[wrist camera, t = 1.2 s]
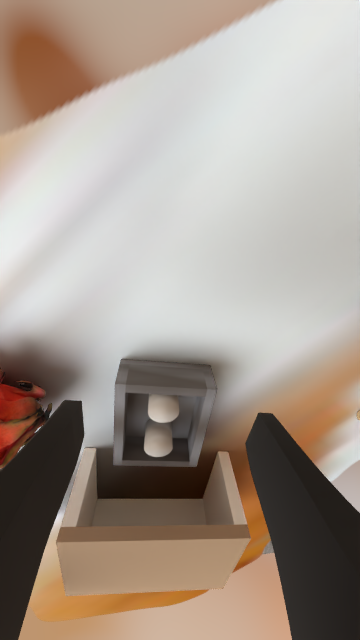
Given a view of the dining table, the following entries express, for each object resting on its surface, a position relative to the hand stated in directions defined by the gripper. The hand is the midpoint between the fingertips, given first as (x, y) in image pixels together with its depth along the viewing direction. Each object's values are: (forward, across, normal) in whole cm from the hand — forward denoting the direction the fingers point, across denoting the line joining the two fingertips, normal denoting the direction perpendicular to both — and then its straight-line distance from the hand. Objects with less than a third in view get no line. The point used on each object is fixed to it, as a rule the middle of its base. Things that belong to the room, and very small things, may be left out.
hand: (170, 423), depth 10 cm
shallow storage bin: (+10, -1, +23) cm, 25 cm away
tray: (+11, 0, +10) cm, 15 cm away
